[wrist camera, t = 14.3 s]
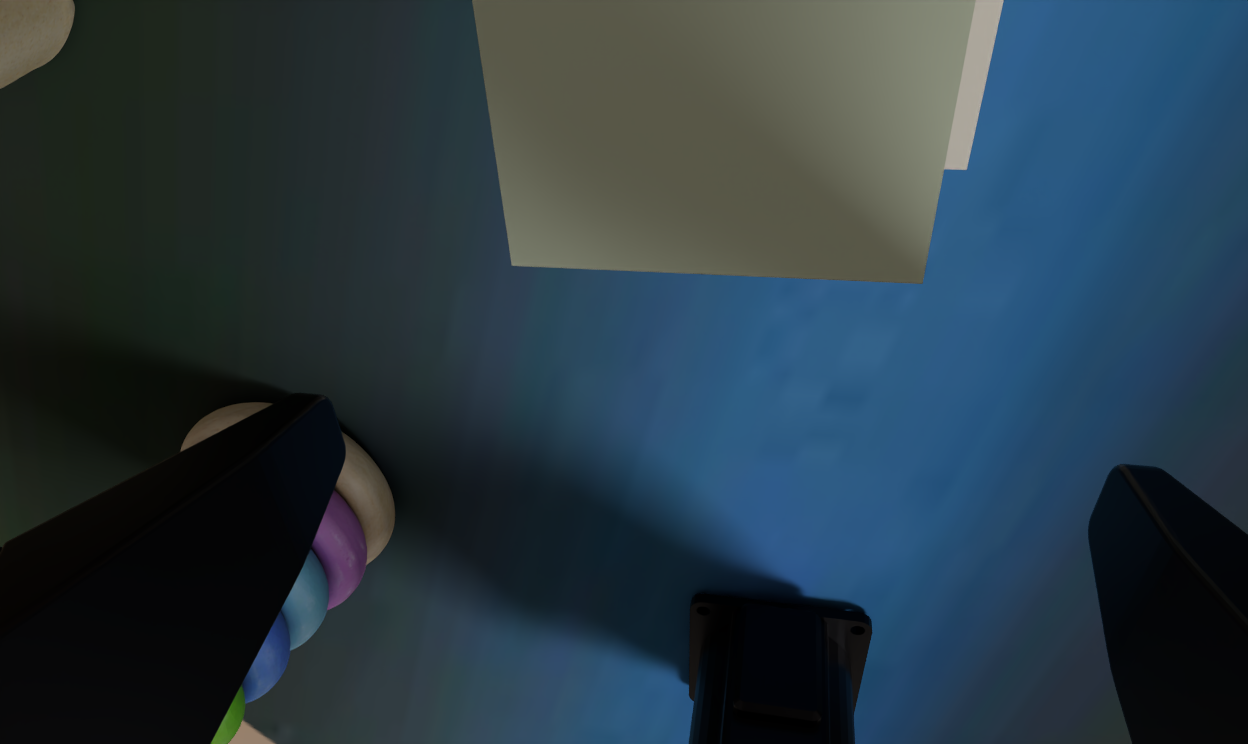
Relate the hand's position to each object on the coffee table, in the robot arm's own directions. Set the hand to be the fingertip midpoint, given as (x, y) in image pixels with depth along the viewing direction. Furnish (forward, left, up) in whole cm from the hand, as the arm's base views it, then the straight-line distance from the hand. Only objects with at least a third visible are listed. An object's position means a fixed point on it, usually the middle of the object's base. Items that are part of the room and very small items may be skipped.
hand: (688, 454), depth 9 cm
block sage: (+4, 0, -7) cm, 8 cm away
